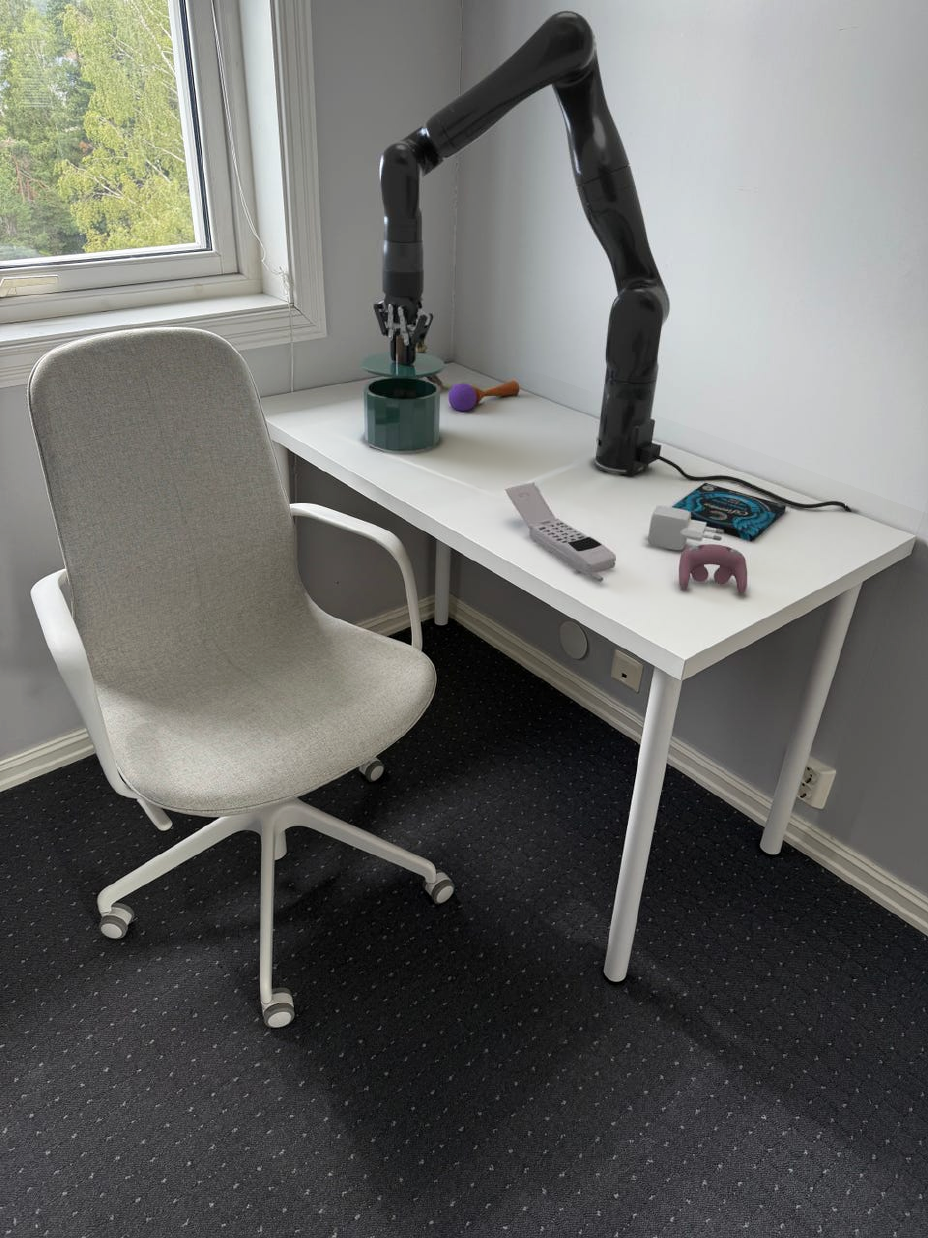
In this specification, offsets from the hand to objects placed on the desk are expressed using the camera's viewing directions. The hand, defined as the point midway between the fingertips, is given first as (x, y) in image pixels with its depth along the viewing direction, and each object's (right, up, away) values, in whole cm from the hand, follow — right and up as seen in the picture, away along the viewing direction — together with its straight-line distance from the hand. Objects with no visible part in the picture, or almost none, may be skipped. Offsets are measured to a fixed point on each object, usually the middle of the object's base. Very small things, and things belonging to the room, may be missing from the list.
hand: (402, 361), depth 173 cm
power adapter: (+46, -38, -28) cm, 66 cm away
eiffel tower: (+1, +3, +35) cm, 36 cm away
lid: (0, -1, 0) cm, 1 cm away
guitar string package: (+57, -31, -16) cm, 67 cm away
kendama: (+16, -1, +29) cm, 33 cm away
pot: (-1, -13, +8) cm, 15 cm away
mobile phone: (+27, -38, -29) cm, 55 cm away
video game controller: (+48, -44, -38) cm, 75 cm away
